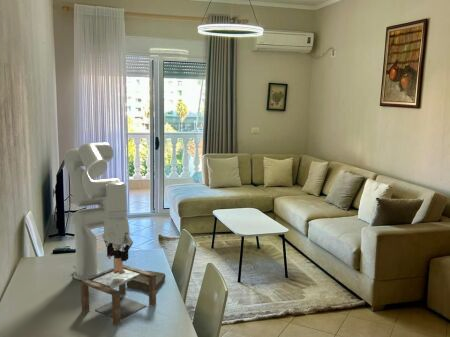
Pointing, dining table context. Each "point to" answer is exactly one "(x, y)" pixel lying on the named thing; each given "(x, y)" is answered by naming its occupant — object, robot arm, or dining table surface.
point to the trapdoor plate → (113, 278)
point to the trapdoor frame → (118, 297)
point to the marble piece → (146, 282)
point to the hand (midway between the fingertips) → (117, 257)
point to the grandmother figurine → (117, 259)
